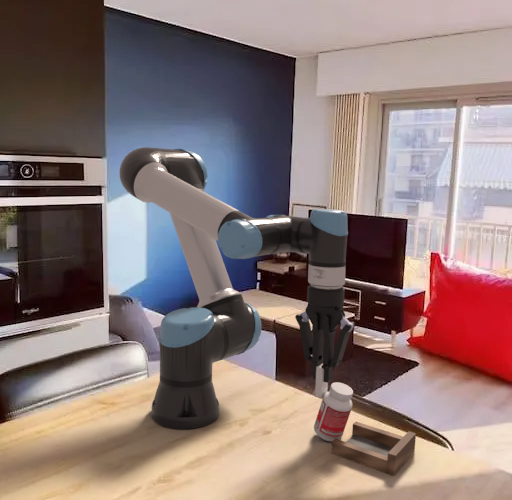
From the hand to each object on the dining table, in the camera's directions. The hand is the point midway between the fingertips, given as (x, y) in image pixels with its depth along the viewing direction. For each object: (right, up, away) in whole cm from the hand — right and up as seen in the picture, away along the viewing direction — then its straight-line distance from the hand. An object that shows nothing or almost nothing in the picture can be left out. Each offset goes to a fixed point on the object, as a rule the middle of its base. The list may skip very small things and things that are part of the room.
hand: (321, 395), depth 115 cm
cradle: (+9, -10, -5) cm, 14 cm away
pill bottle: (+1, -8, 0) cm, 8 cm away
